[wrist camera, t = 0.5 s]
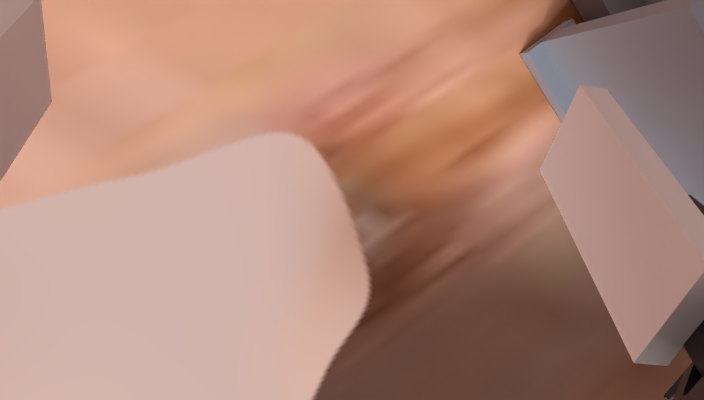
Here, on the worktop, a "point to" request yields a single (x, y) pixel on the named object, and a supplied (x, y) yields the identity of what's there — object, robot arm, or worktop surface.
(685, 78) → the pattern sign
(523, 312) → the worktop surface
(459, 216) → the worktop surface
